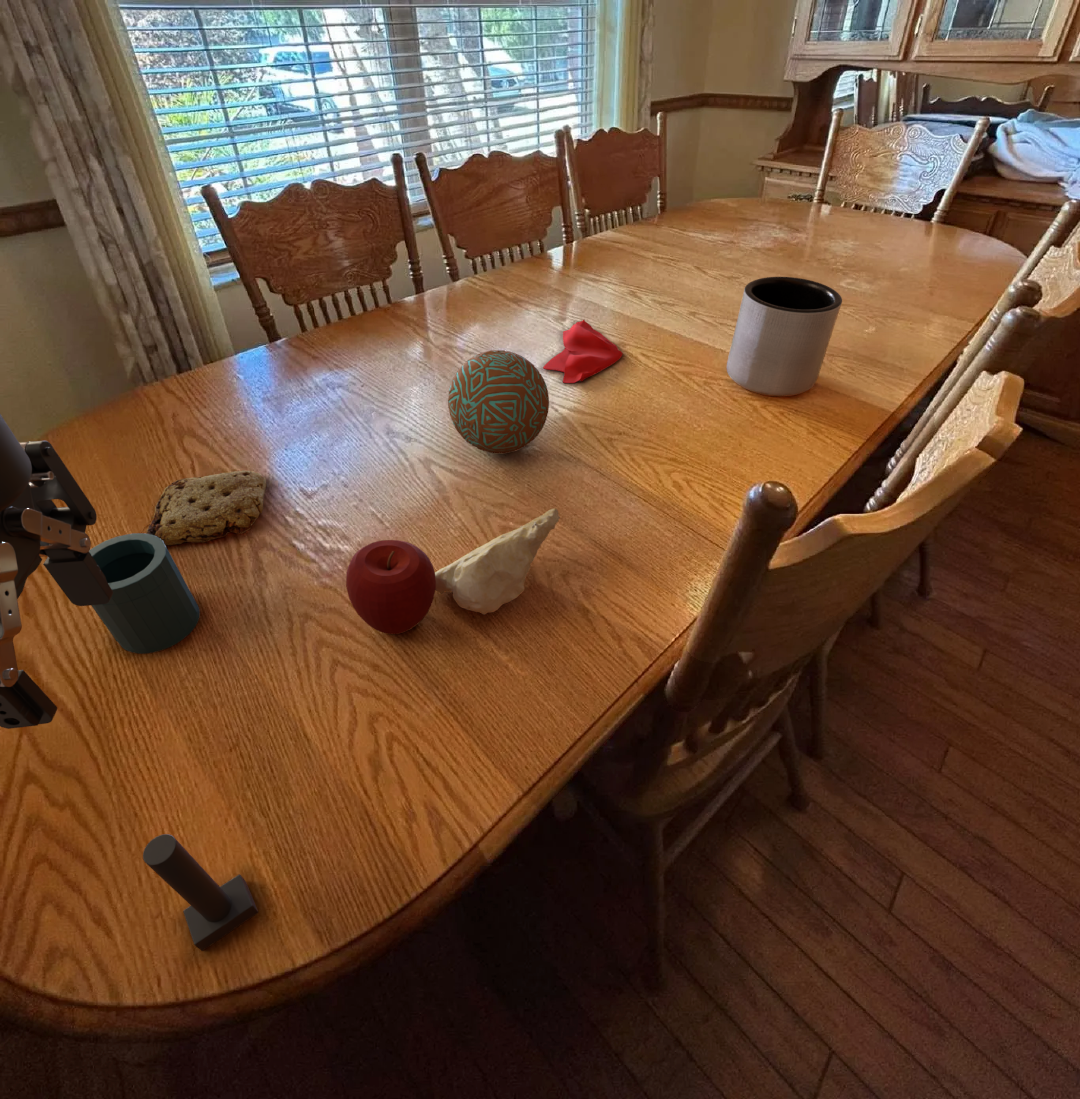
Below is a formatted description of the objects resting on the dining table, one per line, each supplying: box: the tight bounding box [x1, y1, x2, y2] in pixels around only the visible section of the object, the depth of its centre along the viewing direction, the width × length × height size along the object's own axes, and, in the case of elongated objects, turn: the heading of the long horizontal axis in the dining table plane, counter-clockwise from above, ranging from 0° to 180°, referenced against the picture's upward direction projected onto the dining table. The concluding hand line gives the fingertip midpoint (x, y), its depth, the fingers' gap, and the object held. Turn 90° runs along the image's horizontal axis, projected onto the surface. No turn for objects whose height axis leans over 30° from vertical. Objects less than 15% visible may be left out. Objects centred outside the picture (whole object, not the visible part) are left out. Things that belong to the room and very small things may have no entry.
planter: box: [726, 276, 843, 397], centre depth 110 cm, size 16×16×16 cm
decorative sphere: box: [447, 349, 550, 455], centre depth 94 cm, size 15×15×15 cm
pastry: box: [145, 469, 267, 547], centre depth 86 cm, size 17×17×3 cm
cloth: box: [542, 319, 624, 384], centre depth 122 cm, size 26×14×2 cm, turn 164°
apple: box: [345, 539, 436, 635], centre depth 69 cm, size 10×10×10 cm
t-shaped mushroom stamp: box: [142, 833, 259, 952], centre depth 46 cm, size 4×3×13 cm
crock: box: [89, 532, 201, 655], centre depth 68 cm, size 9×9×10 cm
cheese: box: [435, 507, 561, 615], centre depth 74 cm, size 15×7×15 cm
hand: (68, 655), depth 36 cm, fingers open, 8 cm apart
